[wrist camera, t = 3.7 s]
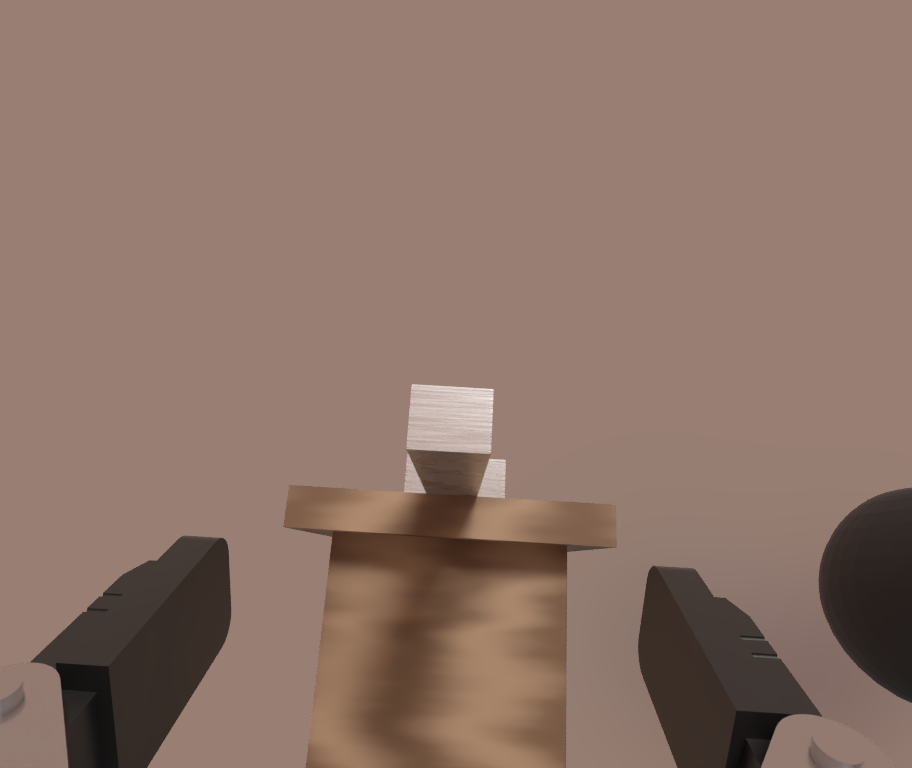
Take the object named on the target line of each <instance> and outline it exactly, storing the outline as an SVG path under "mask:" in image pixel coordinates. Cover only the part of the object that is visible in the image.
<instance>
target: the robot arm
mask: <svg viewBox="0 0 912 768" xmlns="http://www.w3.org/2000/svg"><path fill="white" fill-rule="evenodd" d="M819 593H820V599H821V604H822V608H823V611H824V614H825V617H826V619H827V621H828V623H829V625H830V628H831V630H832V632H833V634H834V636H835V637H836V639H837V640H838V642H839V643H840V645H841V646H842V648H843V649H844V651H845V652H846V653H847V654H848V655H849V656H850V658H851V659H852V660H853V661H854V662H855V663H856V665H857V666H858V667H859V668H860V669H861V670H863V671H864V672H865V673H866V674H867V675H868V676H870V677H871V678H872V679H873V680H874V681H875V682H876V683H878V684H879V685H881V686H883V687H884V688H886V689H887V690H888V691H890V692H892V693H893V694H895V695H896V696H898V697H900V698H902V699H904V700H906V701H909V702H911V703H912V488H906V489H900V490H895V491H890V492H886V493H883V494H880V495H878V496H875V497H873V498H871V499H869V500H867V501H866V502H864V503H862V504H861V505H859V506H858V507H857V508H856V509H854V510H853V511H852V512H851V513H849V514H848V515H847V516H846V517H845V518H844V520H843V521H842V522H841V523H840V524H839V525H838V527H837V528H836V529H835V531H834V532H833V534H832V536H831V538H830V540H829V542H828V544H827V545H826V548H825V551H824V553H823V556H822V560H821V564H820V570H819ZM230 620H231V595H230V574H229V551H228V545H227V542H226V540H225V539H223V538H212V537H197V536H182V537H180V538H179V539H178V540H177V541H176V542H175V543H174V544H173V545H172V546H171V547H170V548H169V549H168V550H167V551H166V552H165V553H164V554H163V555H162V556H161V557H160V558H159V559H158V560H157V561H147V562H146V563H144V564H142V565H140V566H138V567H136V568H134V569H133V570H131V571H129V572H127V573H125V574H123V575H122V576H121V577H120V578H119V579H118V580H116V581H115V582H114V584H112V585H111V586H110V587H109V588H108V589H107V590H106V591H105V592H104V593H103V596H102V597H99V598H98V599H96V600H95V601H94V602H93V603H92V604H91V605H90V606H89V607H88V608H87V612H83V613H82V614H81V615H80V616H78V617H77V618H76V619H75V620H74V621H73V622H72V623H71V624H70V625H69V626H68V627H67V628H66V629H65V630H64V631H63V632H62V633H61V634H59V635H58V636H57V637H56V638H55V639H54V640H53V641H52V642H51V643H50V644H49V645H48V646H47V647H46V648H45V649H44V650H43V651H41V652H40V654H39V655H37V656H36V657H35V658H34V659H33V660H32V661H31V662H30V663H18V664H12V665H7V666H3V667H0V768H147V767H148V765H149V763H150V762H151V760H152V759H153V757H154V755H155V754H156V752H157V751H158V749H159V747H160V746H161V744H162V743H163V741H164V739H165V738H166V736H167V735H168V733H169V731H170V730H171V728H172V727H173V725H174V723H175V722H176V720H177V719H178V717H179V715H180V714H181V712H182V710H183V709H184V707H185V706H186V704H187V703H188V701H189V699H190V698H191V696H192V694H193V693H194V691H195V690H196V688H197V686H198V685H199V683H200V682H201V680H202V678H203V677H204V675H205V674H206V672H207V670H208V669H209V667H210V666H211V664H212V662H213V661H214V659H215V657H216V656H217V654H218V653H219V651H220V650H221V648H222V646H223V644H224V642H225V640H226V637H227V633H228V630H229V626H230ZM638 643H639V644H638V649H639V650H638V652H639V662H640V669H641V673H642V675H643V679H644V681H645V684H646V686H647V689H648V692H649V694H650V697H651V700H652V702H653V705H654V707H655V710H656V713H657V715H658V718H659V721H660V723H661V726H662V728H663V731H664V734H665V736H666V739H667V741H668V744H669V747H670V749H671V752H672V755H673V757H674V760H675V762H676V765H677V767H678V768H895V766H894V764H893V763H892V762H891V760H890V759H889V758H888V757H887V756H886V754H885V753H884V752H883V751H882V750H881V749H879V748H878V747H877V746H876V745H875V744H874V743H873V742H871V741H870V740H869V739H867V738H866V737H864V736H863V735H861V734H860V733H858V732H856V731H855V730H853V729H851V728H849V727H847V726H845V725H843V724H841V723H839V722H836V721H833V720H831V719H827V718H824V717H822V715H821V714H820V713H819V711H818V710H817V708H816V707H815V706H814V704H813V703H812V702H811V700H810V699H809V697H808V696H807V695H806V693H805V692H804V691H803V689H802V688H801V686H800V685H799V684H798V682H797V681H796V680H795V679H794V677H793V675H792V674H791V673H790V671H789V670H788V669H787V667H786V666H785V664H784V663H783V662H782V660H781V659H778V658H777V653H776V652H775V651H774V650H773V648H772V647H771V645H770V644H769V643H768V641H765V639H764V636H763V634H762V633H761V632H760V630H759V629H758V627H757V626H756V625H755V623H754V622H753V621H752V619H751V618H750V617H749V616H748V615H747V614H746V613H744V612H743V611H741V610H740V609H739V608H738V607H736V606H735V605H734V604H732V603H731V602H730V601H728V600H727V599H726V598H717V597H713V595H712V594H711V592H710V590H709V589H708V587H707V586H706V584H705V583H704V581H703V580H702V578H701V577H700V576H699V574H698V573H697V571H696V570H695V569H692V568H678V567H662V566H653V567H651V569H650V570H649V573H648V577H647V584H646V591H645V598H644V605H643V612H642V619H641V626H640V634H639V642H638Z"/></svg>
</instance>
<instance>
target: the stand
mask: <svg viewBox="0 0 912 768" xmlns="http://www.w3.org/2000/svg"><path fill="white" fill-rule="evenodd" d="M284 527H286V528H292V529H296V530H301V531H306V532H311V533H316V534H322V535H327V536H331V537H332V545H331V554H330V562H329V571H328V580H327V588H326V597H325V606H324V614H323V623H322V632H321V640H320V649H319V657H318V666H317V675H316V684H315V693H314V701H313V709H312V718H311V727H310V736H309V744H308V753H307V761H306V762H307V763H306V768H566V641H567V640H566V639H567V632H566V631H567V629H566V628H567V552H570V551H581V550H593V549H603V548H616V505H608V504H593V503H575V502H560V501H542V500H526V499H509V498H493V497H476V496H460V495H443V494H426V493H410V492H393V491H377V490H376V491H375V490H358V489H343V488H327V487H310V486H293V485H289V491H288V499H287V505H286V512H285V520H284Z"/></svg>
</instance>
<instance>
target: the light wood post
mask: <svg viewBox="0 0 912 768" xmlns="http://www.w3.org/2000/svg"><path fill="white" fill-rule="evenodd" d="M493 392H494V389H483V388H465V387H448V386H447V387H445V386H429V385H412V389H411V401H410V414H409V424H408V436H407V451H408V454H407V465H406V477H405V489H404V492H410V493H426V494H443V495H460V496H476V497H493V498H505V469H506V468H505V467H506V460H500V459H489V458H490V455H491V438H492V415H493V414H492V413H493Z"/></svg>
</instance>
